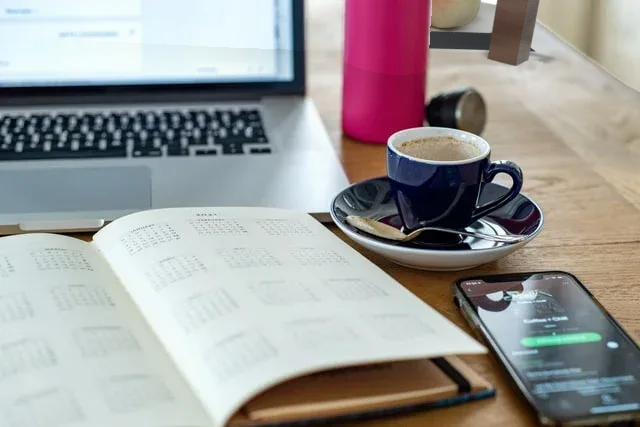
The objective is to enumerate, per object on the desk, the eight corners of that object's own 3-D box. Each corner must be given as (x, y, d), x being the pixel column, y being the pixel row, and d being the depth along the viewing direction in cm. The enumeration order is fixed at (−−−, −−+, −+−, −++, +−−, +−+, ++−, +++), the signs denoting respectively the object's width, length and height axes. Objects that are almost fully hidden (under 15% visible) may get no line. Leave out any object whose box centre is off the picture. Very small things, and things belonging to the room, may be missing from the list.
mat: (512, 38, 131) (513, 33, 130) (535, 56, 123) (536, 51, 122) (408, 35, 128) (408, 30, 127) (424, 53, 120) (425, 48, 120)
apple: (408, 26, 132) (414, -28, 129) (434, 16, 139) (441, -36, 136) (460, 38, 128) (469, -17, 125) (485, 27, 135) (493, -25, 132)
